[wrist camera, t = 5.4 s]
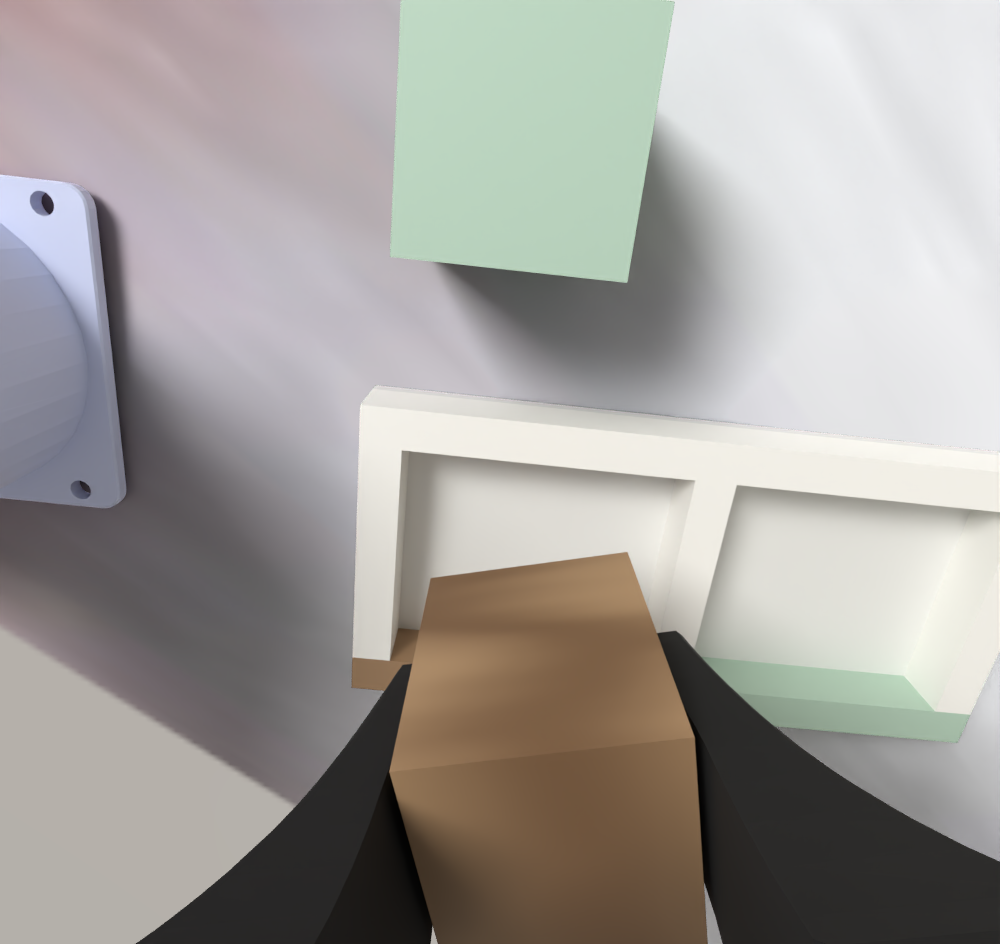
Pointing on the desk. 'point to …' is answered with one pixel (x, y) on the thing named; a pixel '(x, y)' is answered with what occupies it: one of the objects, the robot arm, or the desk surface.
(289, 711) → the desk surface
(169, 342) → the desk surface
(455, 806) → the walnut block
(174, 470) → the desk surface
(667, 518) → the slot board
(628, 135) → the sage block
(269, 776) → the desk surface
